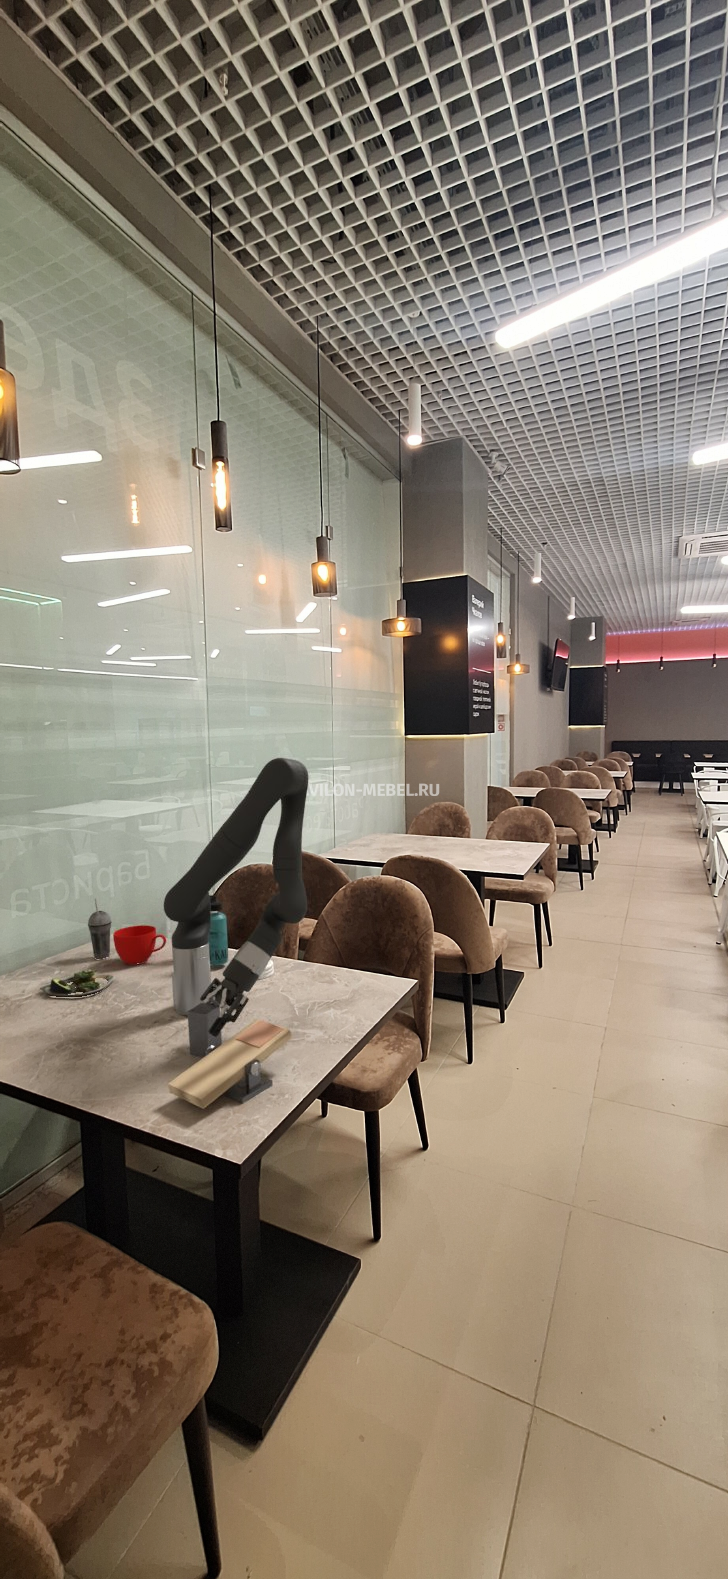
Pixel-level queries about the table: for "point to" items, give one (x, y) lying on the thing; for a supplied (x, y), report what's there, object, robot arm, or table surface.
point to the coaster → (267, 970)
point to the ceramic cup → (136, 943)
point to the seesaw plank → (228, 1063)
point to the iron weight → (202, 1028)
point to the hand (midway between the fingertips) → (203, 1028)
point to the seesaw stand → (246, 1081)
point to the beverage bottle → (218, 936)
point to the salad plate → (77, 984)
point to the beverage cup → (100, 933)
